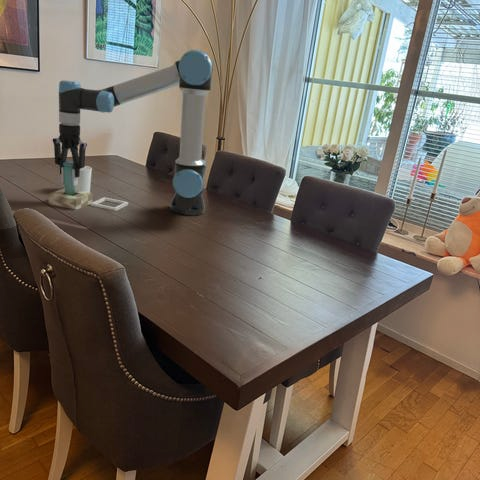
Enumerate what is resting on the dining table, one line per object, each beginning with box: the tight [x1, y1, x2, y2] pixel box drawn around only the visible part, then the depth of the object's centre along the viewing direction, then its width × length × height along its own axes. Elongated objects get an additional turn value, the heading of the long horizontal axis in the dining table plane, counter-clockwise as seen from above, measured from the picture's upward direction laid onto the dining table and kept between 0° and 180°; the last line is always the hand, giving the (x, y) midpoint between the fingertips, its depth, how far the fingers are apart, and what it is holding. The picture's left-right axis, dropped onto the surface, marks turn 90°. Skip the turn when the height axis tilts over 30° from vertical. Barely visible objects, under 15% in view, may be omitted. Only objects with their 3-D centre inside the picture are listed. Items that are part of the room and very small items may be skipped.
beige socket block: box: [47, 187, 94, 211], centre depth 179 cm, size 12×12×5 cm
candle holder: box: [75, 165, 93, 193], centre depth 194 cm, size 10×10×12 cm
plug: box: [63, 161, 75, 196], centre depth 177 cm, size 5×5×14 cm
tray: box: [90, 196, 129, 212], centre depth 185 cm, size 11×11×2 cm
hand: (69, 183), depth 177 cm, fingers closed on plug, 4 cm apart
